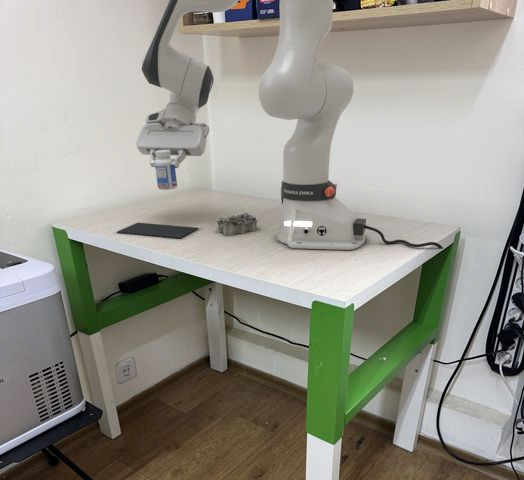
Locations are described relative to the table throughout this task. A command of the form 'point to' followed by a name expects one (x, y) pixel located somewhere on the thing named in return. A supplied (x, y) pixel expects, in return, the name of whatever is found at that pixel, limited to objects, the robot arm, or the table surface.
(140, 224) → the mat
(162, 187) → the pill bottle
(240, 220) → the egg carton
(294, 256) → the table surface
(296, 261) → the table surface
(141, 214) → the table surface
